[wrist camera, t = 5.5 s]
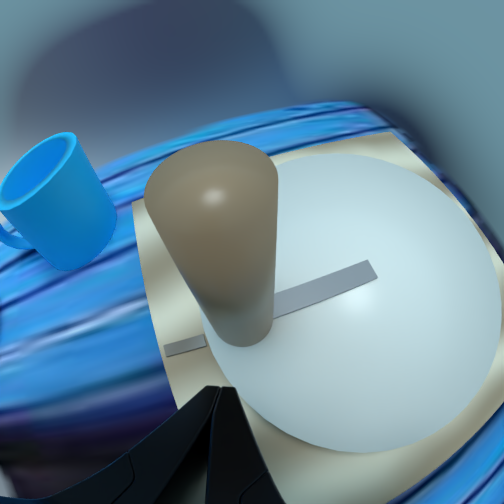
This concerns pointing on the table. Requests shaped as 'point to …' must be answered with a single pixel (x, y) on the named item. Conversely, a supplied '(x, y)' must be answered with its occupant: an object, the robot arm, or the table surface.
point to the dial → (331, 289)
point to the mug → (57, 204)
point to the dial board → (268, 435)
